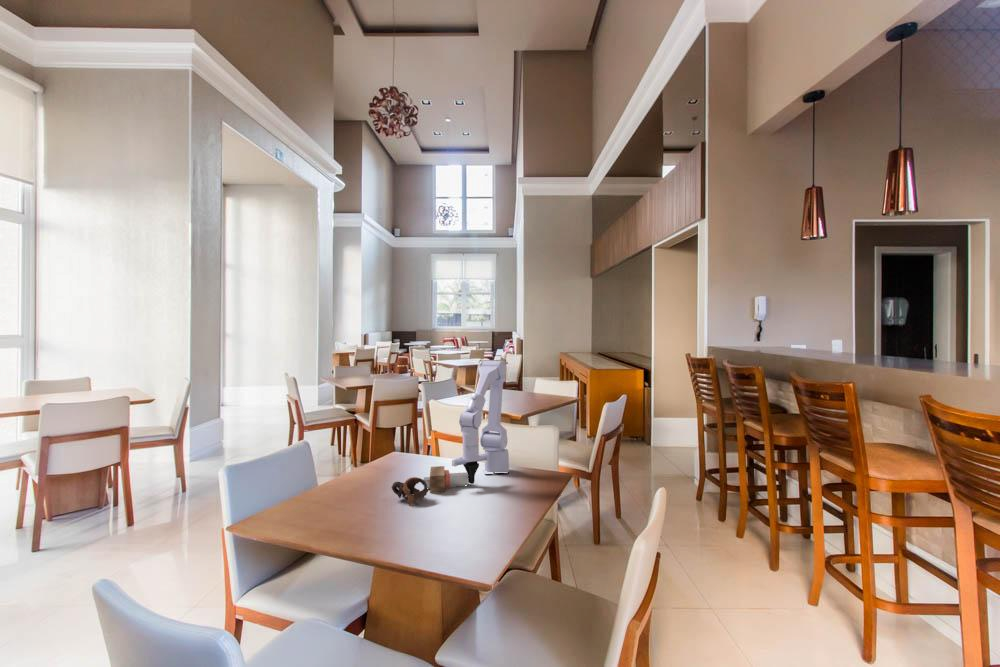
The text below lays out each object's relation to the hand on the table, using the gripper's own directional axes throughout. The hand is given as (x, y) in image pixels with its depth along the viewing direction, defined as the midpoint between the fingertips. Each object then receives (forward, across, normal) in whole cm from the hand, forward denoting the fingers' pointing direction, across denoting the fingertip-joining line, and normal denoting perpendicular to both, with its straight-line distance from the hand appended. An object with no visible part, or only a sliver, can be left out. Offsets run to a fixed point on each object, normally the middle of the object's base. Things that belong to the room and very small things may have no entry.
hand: (471, 483), depth 171 cm
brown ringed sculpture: (+1, +24, +1) cm, 24 cm away
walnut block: (+1, +11, -6) cm, 12 cm away
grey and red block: (+1, +8, -5) cm, 9 cm away
